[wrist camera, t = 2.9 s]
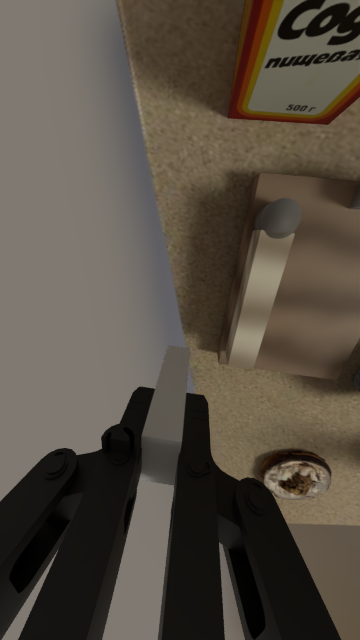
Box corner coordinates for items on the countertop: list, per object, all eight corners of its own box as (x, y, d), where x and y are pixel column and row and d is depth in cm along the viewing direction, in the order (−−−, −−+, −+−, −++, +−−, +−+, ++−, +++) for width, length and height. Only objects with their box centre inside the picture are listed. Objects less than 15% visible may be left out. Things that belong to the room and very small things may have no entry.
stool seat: (254, 179, 21) (270, 161, 16) (412, 194, 20) (482, 180, 15) (217, 353, 30) (220, 377, 25) (326, 368, 29) (352, 396, 24)
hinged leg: (258, 201, 19) (268, 196, 17) (291, 204, 19) (306, 200, 16) (224, 352, 27) (226, 365, 24) (248, 355, 26) (253, 369, 24)
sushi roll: (340, 443, 35) (357, 468, 31) (326, 492, 41) (339, 518, 37) (254, 441, 37) (260, 465, 33) (252, 488, 43) (257, 513, 39)
